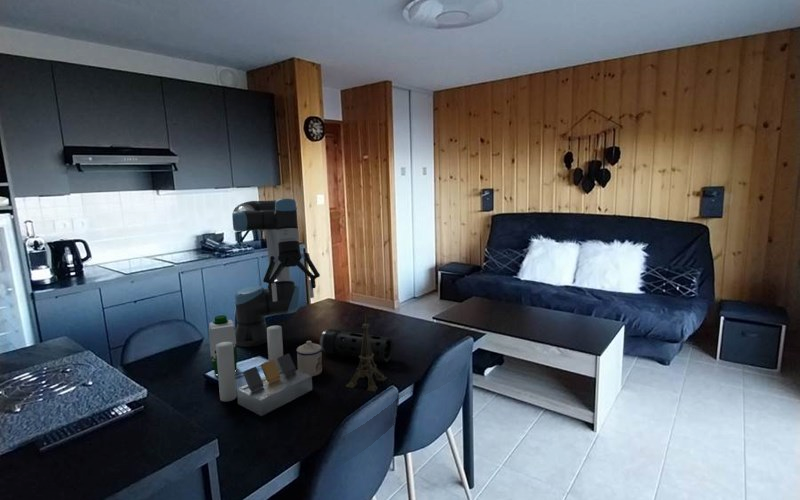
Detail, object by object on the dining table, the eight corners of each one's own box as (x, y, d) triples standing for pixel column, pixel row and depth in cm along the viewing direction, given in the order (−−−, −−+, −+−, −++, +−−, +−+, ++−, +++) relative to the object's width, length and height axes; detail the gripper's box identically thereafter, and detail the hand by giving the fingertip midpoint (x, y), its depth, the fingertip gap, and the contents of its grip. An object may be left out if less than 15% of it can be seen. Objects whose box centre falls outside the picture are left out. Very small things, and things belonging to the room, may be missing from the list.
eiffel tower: (346, 386, 147) (344, 315, 143) (359, 373, 157) (358, 306, 153) (374, 391, 143) (373, 319, 139) (386, 378, 153) (385, 309, 149)
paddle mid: (268, 384, 138) (260, 365, 140) (278, 379, 142) (270, 361, 143) (271, 382, 138) (262, 363, 139) (281, 378, 141) (273, 359, 142)
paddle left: (251, 392, 133) (242, 372, 135) (262, 387, 137) (253, 368, 138) (253, 390, 132) (244, 371, 134) (264, 385, 136) (256, 366, 137)
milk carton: (236, 363, 165) (232, 313, 162) (239, 373, 158) (235, 320, 154) (211, 368, 161) (206, 317, 158) (213, 378, 154) (208, 324, 150)
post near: (217, 398, 139) (212, 345, 136) (231, 392, 143) (227, 340, 140) (225, 403, 137) (221, 348, 134) (239, 396, 140) (236, 343, 137)
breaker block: (237, 403, 136) (236, 388, 135) (289, 380, 152) (288, 365, 151) (261, 416, 129) (260, 399, 128) (312, 389, 145) (311, 374, 144)
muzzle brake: (383, 368, 161) (383, 342, 159) (318, 357, 171) (317, 332, 170) (393, 358, 170) (393, 333, 168) (331, 348, 180) (330, 324, 178)
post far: (266, 376, 154) (263, 328, 152) (278, 371, 158) (275, 324, 155) (275, 380, 152) (272, 331, 149) (287, 375, 155) (284, 327, 152)
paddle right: (285, 377, 144) (277, 358, 145) (294, 372, 147) (286, 354, 148) (287, 375, 143) (279, 357, 144) (297, 371, 146) (289, 353, 147)
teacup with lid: (321, 376, 154) (320, 345, 152) (295, 378, 153) (294, 346, 152) (324, 362, 166) (323, 333, 164) (300, 363, 165) (299, 334, 163)
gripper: (251, 244, 155) (255, 303, 154) (319, 236, 154) (325, 296, 152) (259, 245, 163) (263, 302, 161) (324, 238, 161) (329, 295, 160)
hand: (293, 299), depth 157 cm, fingers open, 13 cm apart
